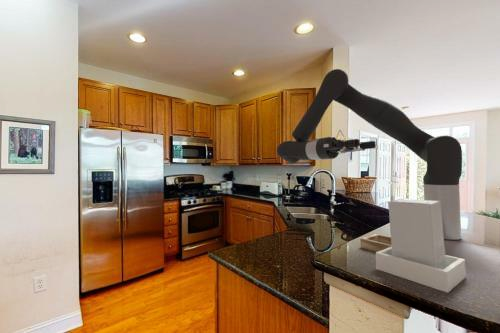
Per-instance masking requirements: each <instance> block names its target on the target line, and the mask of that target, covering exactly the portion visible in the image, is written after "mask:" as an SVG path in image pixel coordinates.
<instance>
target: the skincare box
mask: <svg viewBox="0 0 500 333" xmlns="http://www.w3.org/2000/svg"><path fill="white" fill-rule="evenodd" d="M387 204H388V214H389V215H388V216H389V217H388V218H389V219H388V220H389V230H390V237H391V244H392V256H394V257H398V258H402V259H405V260H409V261H413V262H416V263H420V264H424V265H427V266H431V267H435V268H438V269H442V270H443V269H445V268H446V258H445V255H446V248H445V241H444V240H445V239H444V237H443V226H442V215H441V205H440V201H430V200H424V199H423V200H421V199H405V198H403V199H400V198H399V199H393V200H390V201H388V202H387Z"/></svg>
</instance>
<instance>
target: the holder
mask: <svg viewBox="0 0 500 333" xmlns="http://www.w3.org/2000/svg"><path fill="white" fill-rule="evenodd" d="M359 240H360V248H361V249H365V250H369V251H373V252H375V253H376V252H378V251H381V250H384V249H386V248H389V247H391V246H392V244H391V235H390V236H389V235H385V234H380V233H379V234H378V233H374V234H371V235H367V236H365V237H361V238H360V239H359Z"/></svg>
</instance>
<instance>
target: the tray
mask: <svg viewBox="0 0 500 333" xmlns="http://www.w3.org/2000/svg"><path fill="white" fill-rule="evenodd" d="M445 258H446V268H445V269H443V270H442V269H438V268H435V267H431V266H427V265H424V264H420V263H416V262H413V261H409V260H405V259H402V258H398V257H394V256H392V246H391V247H389V248H386V249H384V250H381V251H378V252H376V251H375V269H376V270H377V271H381V272H385V273H388V274H389V275H394V276H397V277H399V278H402V279H404V280H405V279H406V280H409V281H412V282H414V283H417V284H420V285H422V286H425V287H430V288H432V289H435V290H438V291H441V292H444V293H447V294H449V292H451V291H452V290H453V289H454V288H455V287H456V286H457V285H458V284H459V283H461V282H462V281H463V280H465V279H466V278H467V275H466V272H467V271H466V270H467V269H466V259H464V258H460V257H456V256H452V255H447V254H445Z"/></svg>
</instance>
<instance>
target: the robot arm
mask: <svg viewBox="0 0 500 333" xmlns="http://www.w3.org/2000/svg"><path fill="white" fill-rule="evenodd" d="M348 76H349V75H348V74H347V72H346V71H345V70H343V69H341V68H335V69H332V70H330V71H328V72H327V73H326V74H325V76H324V77H323V80H322V82H321V84H320V86H319V88H318V89H319V90H318V91H317V93H316V95H315V96H314V98H313V100H312V102H311V103H310V105H309V107H308V108H307V109H306V111H305V113H304V114H303V115H302V118H300V121H299V122H298V123H297V125H296V127H295V128H294V129H293V131H292V134H291V136H292V138H293V139H294V140H285V141H282V142H281V143H279V144H278V145H277V148H276V154H277V156H278V157H279V158H280V159H282V160H284V161H286V162H288V163H289V164H292V165H293V164H297V163H298V162H299V161H300V160H302V161H311V160H315V161H318V160H319V161H320V160H321V161H322V160H333V159H334V160H335V158H337V157H338V156H339V154H346V153H355V152H360V151H362V152H364V151H366V150H369V149H370V150H371V149H375V148H376V147H377V146H376V141H374V140H371V141H369V140H368V141H364V142H363V141H361V140H360V139H359V138H353V139H347V140H346V139H337V138H336V137H334V136H325V137H320V138H315V139H311V140H310V138H311V137H312V135H313V134H314V133H315V131H316V129H317V128H318V127H319V126H318V125H319V124H320V123H321V120H322V118H323V116H324V114H326V111H327V109H328V108H329V107H330V105H331V104H332V102H333V101H334V102H336V103H338V104H340V105H343V106H344V107H345V108H348V109H349V110H350V111H351V112H354V113H355V114H356V115H357V116H359V117H360V118H361V119H363V120H364V121H366V123H368V124H369V125H371V126H373V127H374V128H376V129H377V130H379V131H381V132H382V133H384V134H385V135H387V136H389V137H390V138H392V139H394V140H396V141H397V142H399V143H401V144H403V145H404V146H405V147H406V148H408V149H409V150H410V151H411V152H413V154H415V155H416V156H417V157H419V158H420V159H421V160H423V161H424V162H426V172H425V174H424V176H423V178H422V181H423V182H422V183H423V200H430V201H440V205H441V215H442V226H443V237H444V240H451V241H452V240H454V241H455V240H461V239H462V227H461V226H462V224H461V223H462V222H461V219H462V218H461V201H460V200H461V198H460V197H461V196H460V193H461V192H460V179H461V176H462V174H463V169H462V168H463V151H462V145H461V143H460V142H459V140H458V139H457V138H455V137H453V136H451V135H438V136H433V135H431V134H429V133H428V132H425V131H424V130H422V129H421V128H419V127H418V126H417V125H415V124H414V123H413V122H412V121H411V119H410V118H409V117H408V116H407V114H405V113H404V112H403V111H402V110H401V109H400V108H398V107H397V106H395V105H393V104H392V103H391V102H389V101H387V100H384V99H383V98H380V97H377V96H373V95H370V94H366V93H364V92H362V91H360V90H358V89H357V88H356V87H354V86H353V85H351V84H350V83H349V77H348Z"/></svg>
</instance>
